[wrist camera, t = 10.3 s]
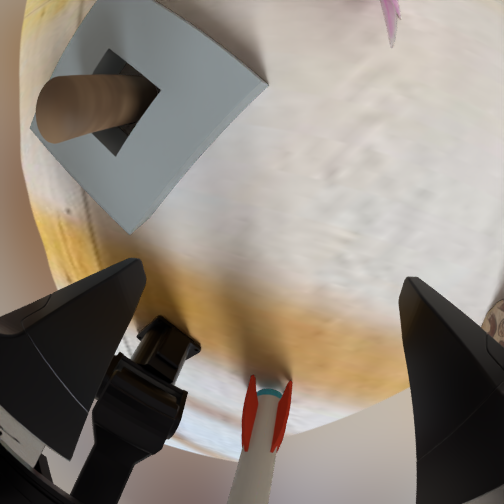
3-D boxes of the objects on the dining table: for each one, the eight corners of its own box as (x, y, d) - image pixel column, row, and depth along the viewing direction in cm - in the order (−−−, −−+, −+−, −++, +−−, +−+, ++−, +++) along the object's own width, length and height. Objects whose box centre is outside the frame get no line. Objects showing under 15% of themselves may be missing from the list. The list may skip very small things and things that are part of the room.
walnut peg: (139, 131, 20) (60, 156, 12) (110, 104, 19) (29, 121, 11) (166, 93, 18) (88, 97, 10) (135, 67, 17) (53, 64, 9)
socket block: (149, 217, 24) (129, 235, 21) (54, 121, 20) (29, 128, 17) (269, 85, 17) (261, 81, 14) (136, -10, 13) (113, -20, 10)
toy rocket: (289, 400, 35) (251, 597, 9) (249, 395, 35) (199, 588, 10) (294, 379, 32) (253, 608, 6) (250, 374, 33) (190, 597, 7)
